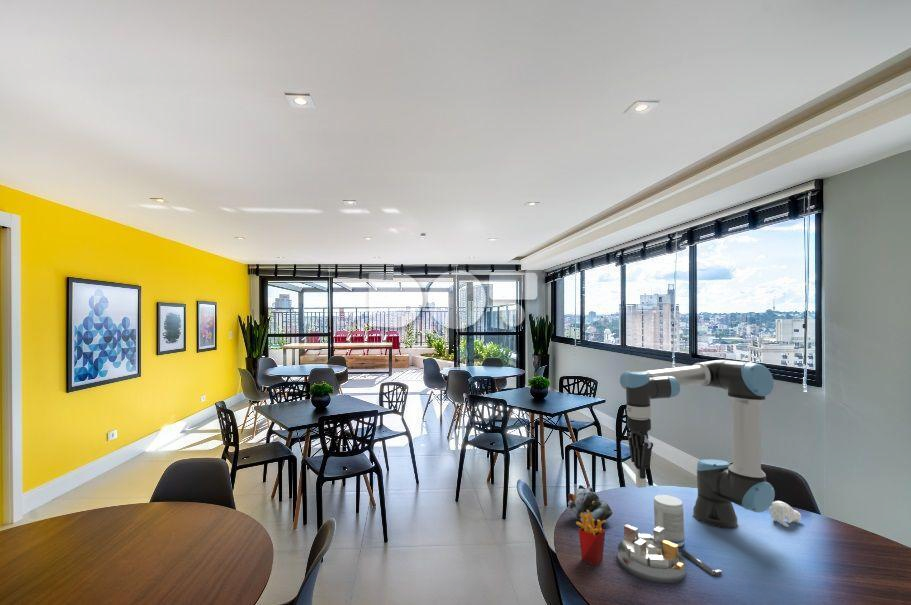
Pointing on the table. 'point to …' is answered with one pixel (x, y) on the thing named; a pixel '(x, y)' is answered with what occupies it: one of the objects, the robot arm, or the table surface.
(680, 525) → the supplement tub
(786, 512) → the white animal figurine
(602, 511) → the lucky cat figurine
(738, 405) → the robot arm
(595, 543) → the french fries
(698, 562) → the pin spanner
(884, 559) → the table surface
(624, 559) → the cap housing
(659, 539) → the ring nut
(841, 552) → the table surface
